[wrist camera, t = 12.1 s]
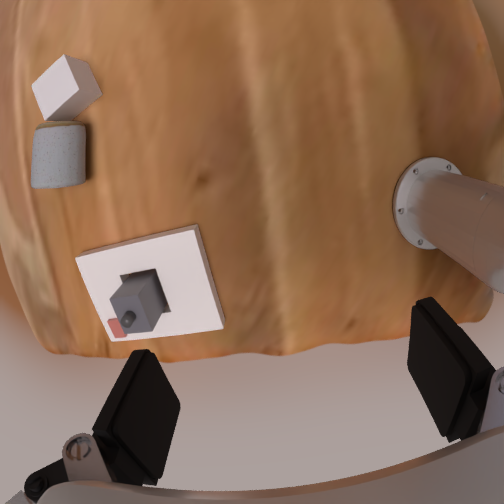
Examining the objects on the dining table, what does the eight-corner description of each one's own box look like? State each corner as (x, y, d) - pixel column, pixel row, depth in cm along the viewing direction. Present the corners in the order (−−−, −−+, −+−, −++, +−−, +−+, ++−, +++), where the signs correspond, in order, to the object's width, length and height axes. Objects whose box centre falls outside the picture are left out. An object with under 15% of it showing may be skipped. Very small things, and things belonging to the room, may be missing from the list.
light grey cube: (103, 94, 32) (79, 89, 26) (71, 121, 33) (45, 121, 27) (87, 62, 30) (63, 54, 24) (56, 89, 31) (31, 85, 25)
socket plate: (197, 224, 37) (192, 231, 34) (225, 319, 42) (222, 331, 39) (83, 251, 39) (72, 259, 36) (117, 332, 44) (109, 344, 41)
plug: (158, 266, 40) (132, 301, 31) (169, 299, 41) (148, 339, 32) (133, 271, 40) (103, 305, 31) (144, 302, 42) (120, 341, 33)
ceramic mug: (96, 119, 33) (62, 118, 25) (96, 180, 36) (63, 191, 28) (39, 128, 33) (4, 130, 26) (40, 182, 36) (6, 193, 28)
